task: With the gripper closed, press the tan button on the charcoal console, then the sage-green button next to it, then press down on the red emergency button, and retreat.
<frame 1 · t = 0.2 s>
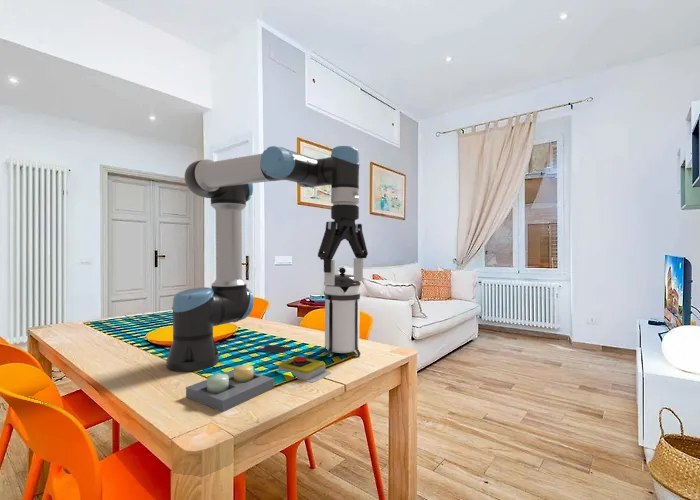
hand: (344, 283, 97), 27 cm above the table, tool pointing down, fingers open, 13 cm apart
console: (231, 392, 91), on the table
emergency button: (302, 374, 105), on the table
tan button: (243, 373, 94), point 4 cm above the table, slide at 0.0 cm
coffee press: (340, 352, 126), on the table
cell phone: (277, 351, 127), on the table
sage button: (217, 383, 88), point 4 cm above the table, slide at 0.0 cm
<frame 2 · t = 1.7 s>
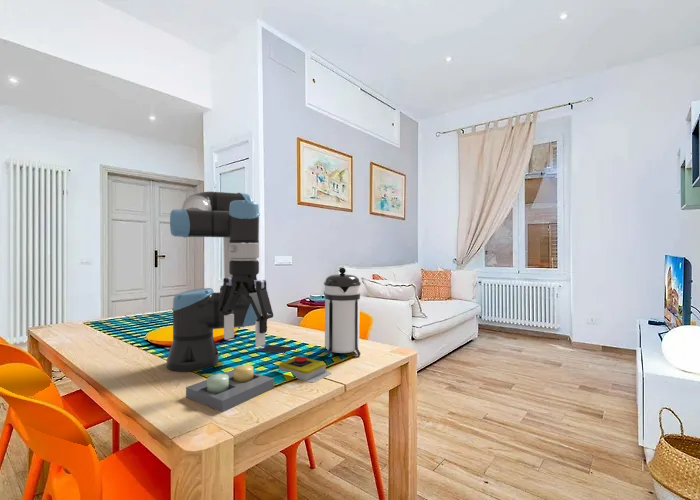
hand: (244, 341, 94), 12 cm above the table, tool pointing down, fingers open, 11 cm apart
nothing on the table moved.
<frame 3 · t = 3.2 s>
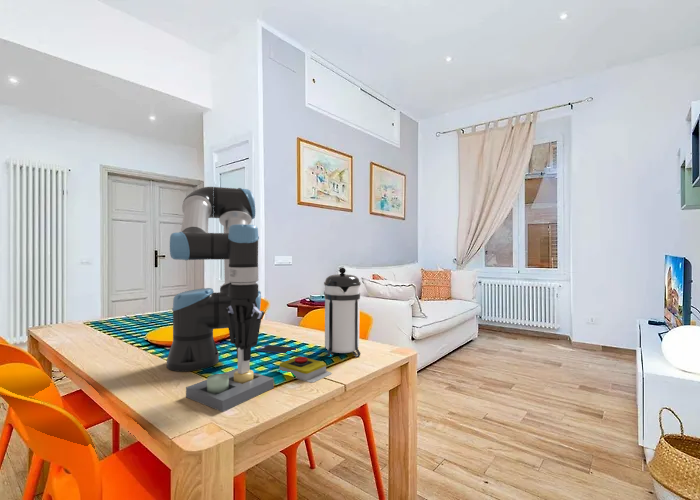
hand: (243, 371, 94), 4 cm above the table, tool pointing down, fingers closed
tan button: (243, 378, 94), point 2 cm above the table, slide at 1.2 cm, touching gripper
everything else where it was.
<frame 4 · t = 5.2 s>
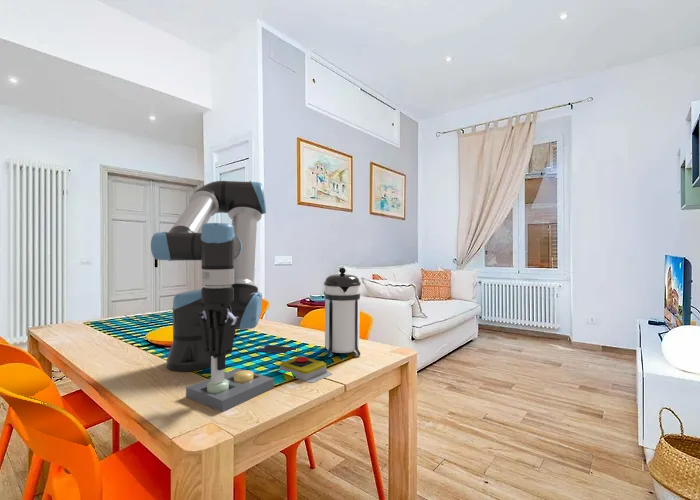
hand: (217, 381, 87), 4 cm above the table, tool pointing down, fingers closed
tan button: (243, 379, 94), point 2 cm above the table, slide at 1.5 cm
sage button: (217, 388, 88), point 2 cm above the table, slide at 1.3 cm, touching gripper
everything else where it was.
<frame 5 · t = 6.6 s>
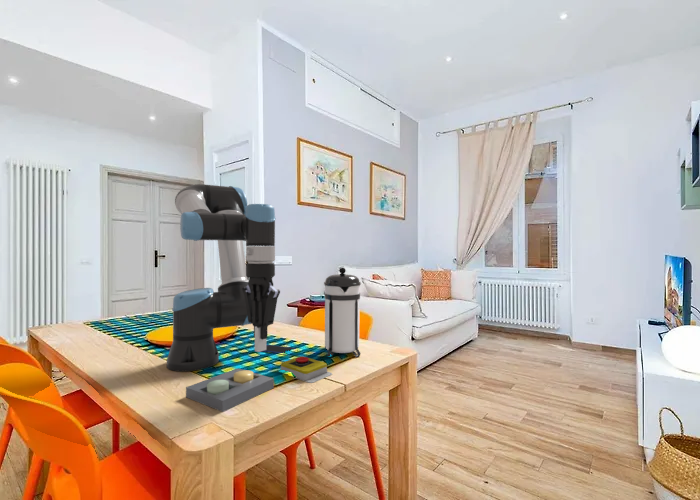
hand: (260, 350, 95), 10 cm above the table, tool pointing down, fingers closed
sage button: (217, 389, 88), point 2 cm above the table, slide at 1.5 cm
everything else where it was.
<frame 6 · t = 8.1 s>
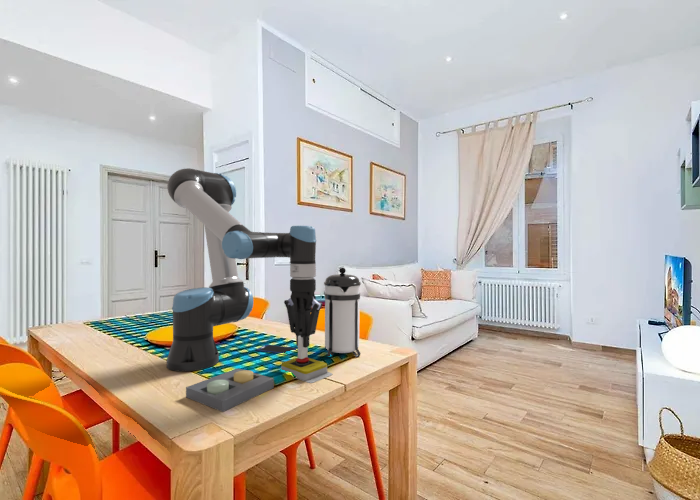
hand: (302, 357, 105), 4 cm above the table, tool pointing down, fingers closed
nothing on the table moved.
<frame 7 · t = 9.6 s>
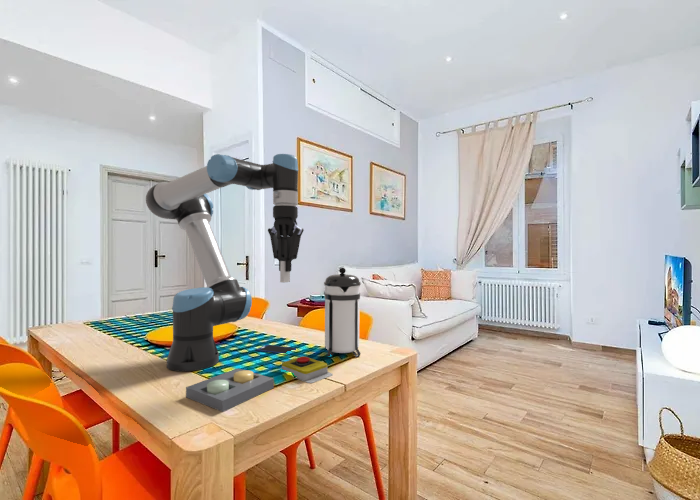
hand: (285, 282, 110), 26 cm above the table, tool pointing down, fingers closed
nothing on the table moved.
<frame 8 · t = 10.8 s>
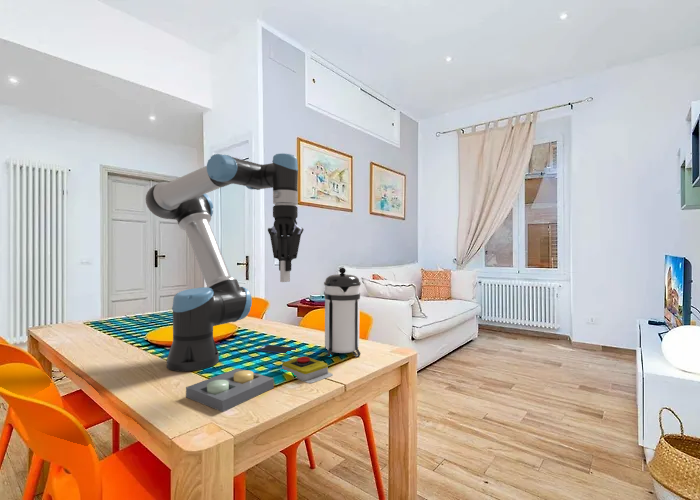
hand: (285, 281, 110), 26 cm above the table, tool pointing down, fingers closed
at the end: tan button slide at 1.5 cm; sage button slide at 1.5 cm; emergency button moved 1.2 cm from its start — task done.
